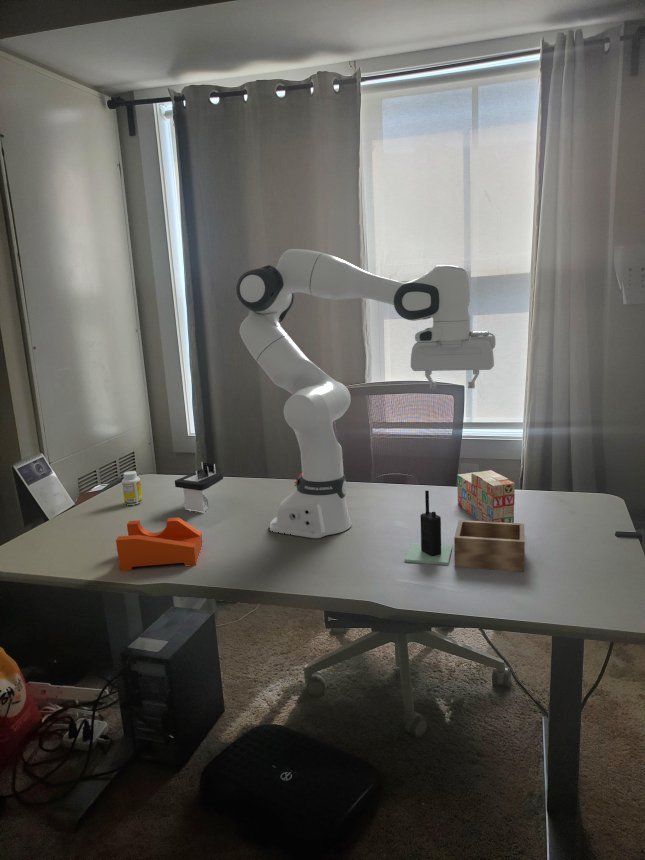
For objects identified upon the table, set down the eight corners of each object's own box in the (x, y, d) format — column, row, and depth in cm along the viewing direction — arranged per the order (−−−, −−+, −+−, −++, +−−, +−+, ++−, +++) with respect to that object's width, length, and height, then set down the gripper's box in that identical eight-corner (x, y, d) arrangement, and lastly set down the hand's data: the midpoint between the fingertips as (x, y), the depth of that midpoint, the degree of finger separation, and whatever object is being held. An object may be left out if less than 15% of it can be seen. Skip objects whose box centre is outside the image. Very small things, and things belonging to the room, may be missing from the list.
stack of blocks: (457, 504, 180) (456, 464, 177) (476, 502, 181) (476, 461, 179) (492, 530, 160) (492, 485, 157) (514, 527, 161) (515, 482, 158)
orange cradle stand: (120, 572, 147) (115, 540, 146) (133, 551, 160) (129, 521, 158) (196, 566, 148) (192, 534, 146) (202, 546, 161) (199, 515, 159)
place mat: (404, 561, 144) (404, 559, 144) (411, 544, 153) (411, 542, 153) (448, 565, 141) (448, 562, 141) (452, 547, 150) (452, 545, 150)
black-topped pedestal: (207, 530, 171) (203, 484, 169) (140, 518, 184) (134, 475, 182) (265, 499, 195) (262, 459, 192) (202, 490, 208) (198, 452, 205)
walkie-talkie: (442, 553, 145) (441, 493, 142) (431, 557, 144) (429, 496, 141) (429, 547, 149) (428, 488, 146) (418, 550, 148) (417, 490, 145)
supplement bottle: (139, 499, 201) (135, 469, 199) (145, 503, 197) (141, 472, 195) (122, 503, 198) (118, 472, 196) (128, 507, 193) (124, 476, 191)
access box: (454, 566, 140) (454, 537, 138) (458, 547, 150) (458, 520, 148) (524, 571, 135) (524, 541, 134) (523, 551, 145) (524, 523, 144)
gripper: (495, 330, 151) (495, 385, 154) (412, 333, 157) (414, 386, 160) (495, 331, 145) (494, 389, 148) (408, 334, 152) (410, 390, 154)
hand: (452, 388), depth 154 cm, fingers open, 8 cm apart
